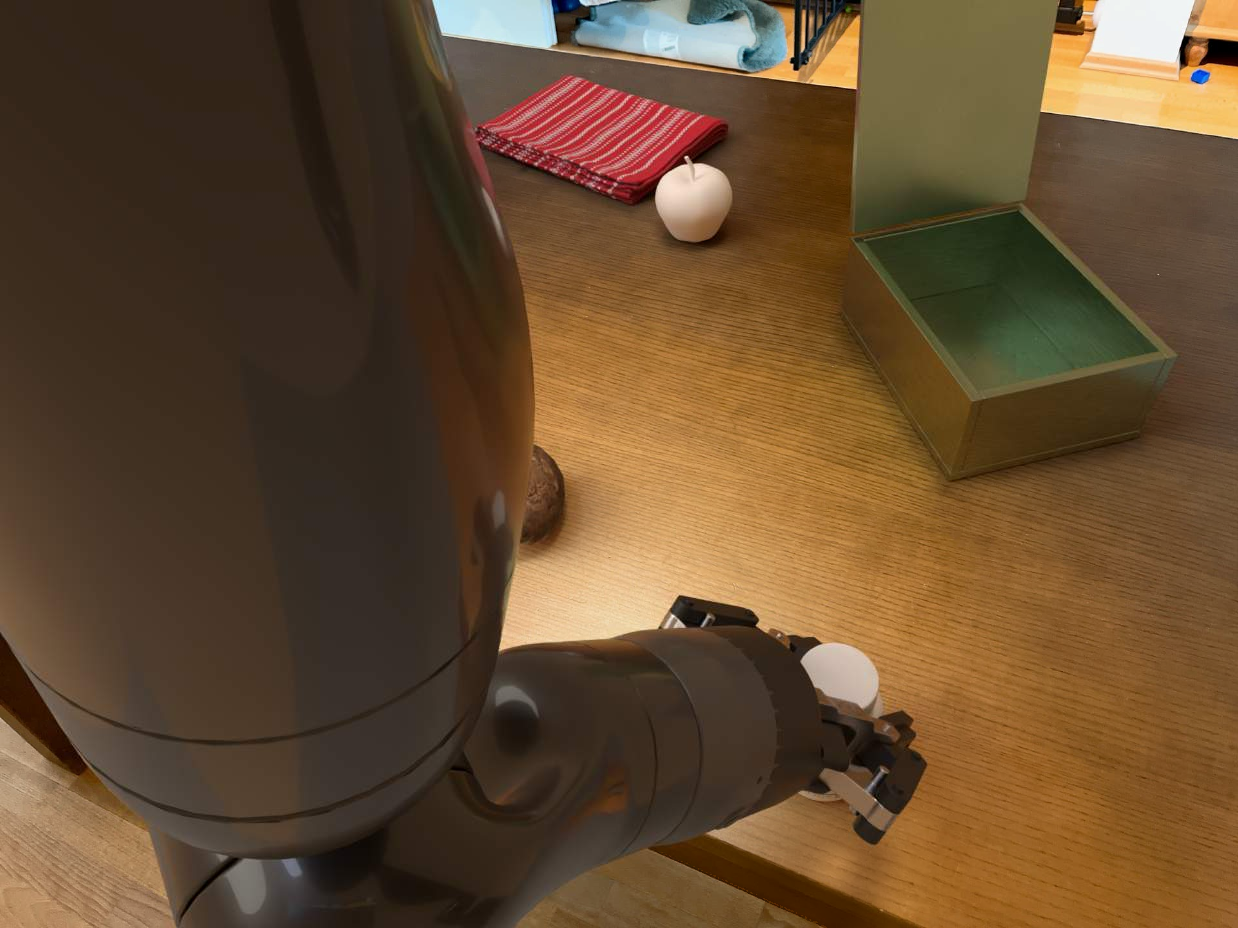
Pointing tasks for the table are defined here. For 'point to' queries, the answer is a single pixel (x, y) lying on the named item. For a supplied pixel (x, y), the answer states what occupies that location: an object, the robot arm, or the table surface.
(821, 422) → the table surface
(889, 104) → the box lid
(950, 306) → the open box
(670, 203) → the plain white apple
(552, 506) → the mushroom
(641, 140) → the dish towel
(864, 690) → the pill bottle
